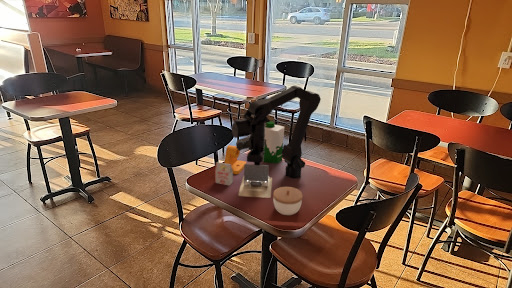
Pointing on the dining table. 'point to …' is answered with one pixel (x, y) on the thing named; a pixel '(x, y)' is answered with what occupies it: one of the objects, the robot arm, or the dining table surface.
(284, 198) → the lidded jar
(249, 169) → the loose leaf
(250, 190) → the mounting board
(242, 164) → the bracket
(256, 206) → the dining table surface
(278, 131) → the milk carton
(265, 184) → the fixed leaf
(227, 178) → the white printed packet
